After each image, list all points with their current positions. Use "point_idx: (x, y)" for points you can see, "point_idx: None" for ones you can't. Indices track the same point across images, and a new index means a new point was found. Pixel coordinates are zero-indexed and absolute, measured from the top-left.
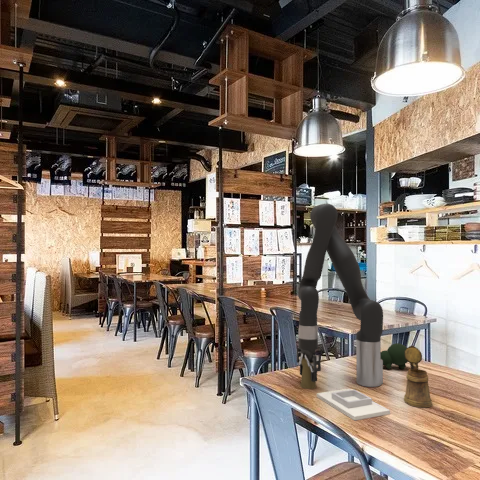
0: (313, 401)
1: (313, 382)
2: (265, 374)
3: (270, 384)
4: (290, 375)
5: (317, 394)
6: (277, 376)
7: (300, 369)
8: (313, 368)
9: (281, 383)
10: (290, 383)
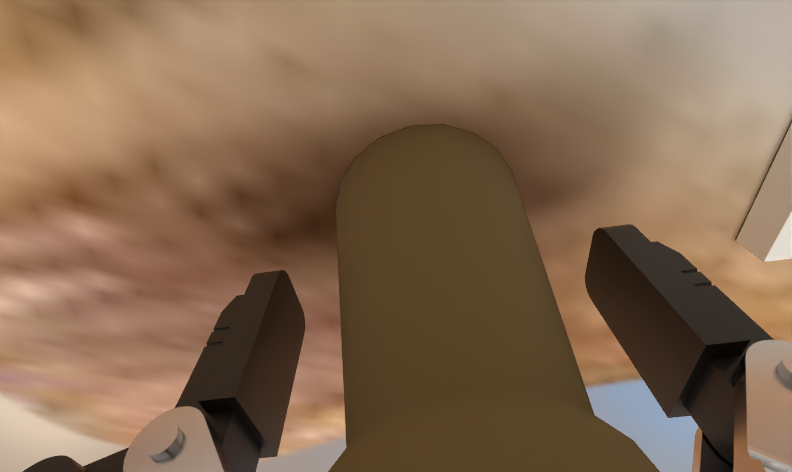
0: (788, 296)
1: (525, 216)
2: (66, 419)
3: (317, 429)
4: (29, 269)
5: (773, 256)
6: (103, 367)
7: (283, 397)
8: (555, 361)
9: (302, 379)
10: (310, 328)
